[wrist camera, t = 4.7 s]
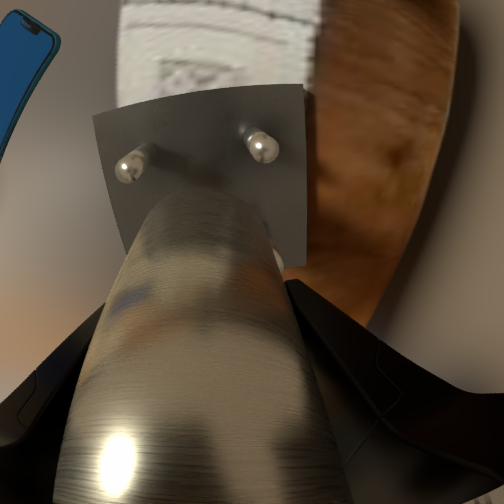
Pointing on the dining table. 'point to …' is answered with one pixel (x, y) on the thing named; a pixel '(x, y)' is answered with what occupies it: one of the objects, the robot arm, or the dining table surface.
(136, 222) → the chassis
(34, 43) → the smartphone
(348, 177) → the dining table surface
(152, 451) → the canister
